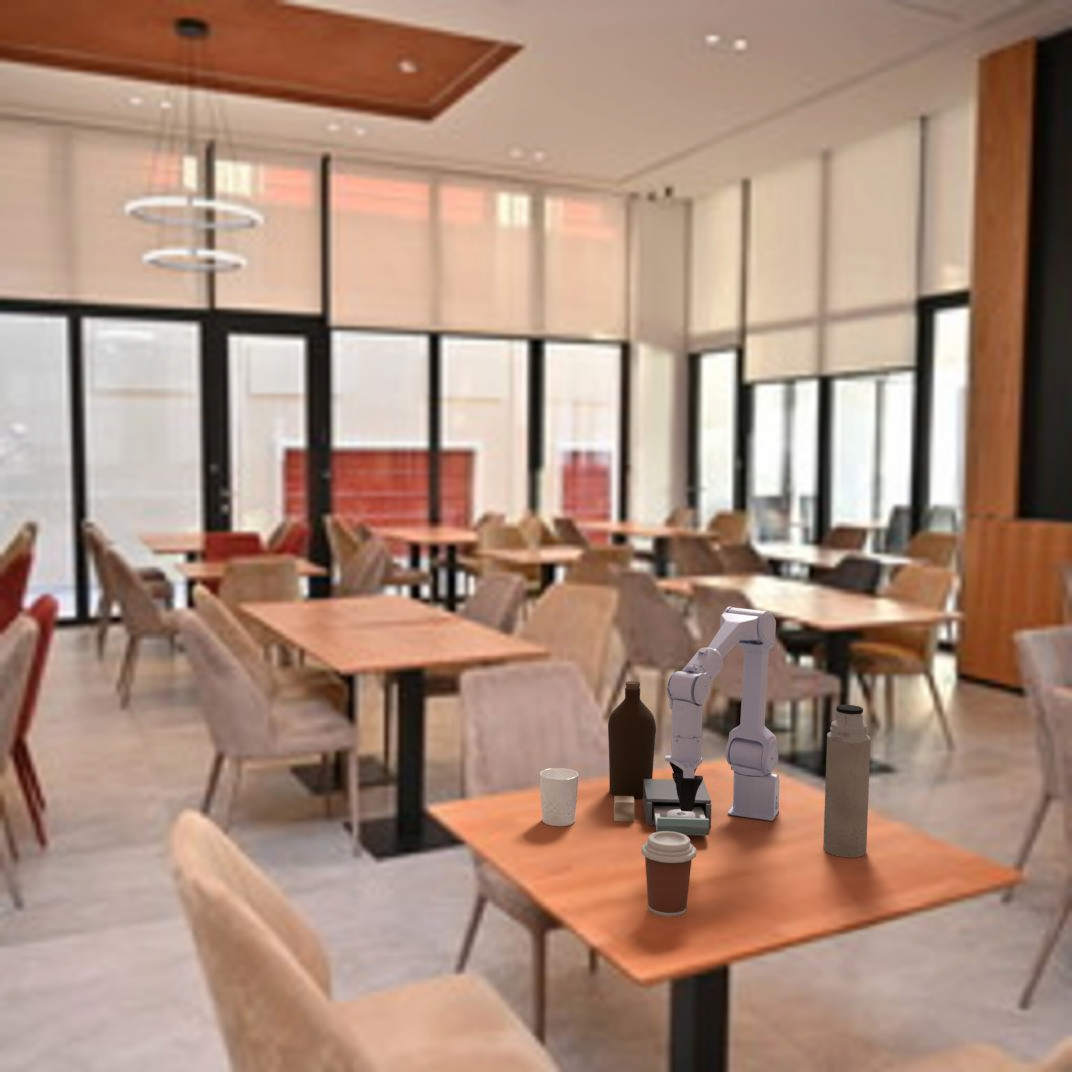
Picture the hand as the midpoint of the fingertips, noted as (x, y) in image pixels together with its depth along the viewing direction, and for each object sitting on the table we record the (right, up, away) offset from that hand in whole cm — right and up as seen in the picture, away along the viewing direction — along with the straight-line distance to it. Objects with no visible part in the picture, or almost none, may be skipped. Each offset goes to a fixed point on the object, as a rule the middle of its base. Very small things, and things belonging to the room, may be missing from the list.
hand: (684, 804), depth 204 cm
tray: (0, -6, +10) cm, 12 cm away
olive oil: (-7, -6, +34) cm, 35 cm away
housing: (+1, -7, +19) cm, 21 cm away
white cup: (-24, -7, +15) cm, 29 cm away
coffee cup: (-7, -11, -27) cm, 30 cm away
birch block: (-10, -7, +17) cm, 21 cm away
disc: (0, -6, +8) cm, 10 cm away
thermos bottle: (+31, -9, +1) cm, 32 cm away
